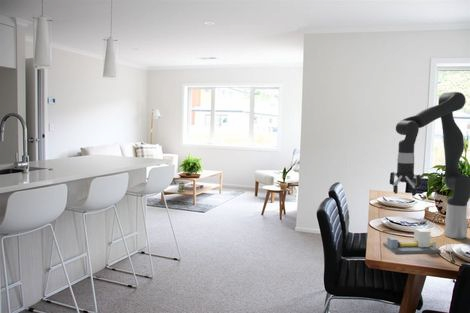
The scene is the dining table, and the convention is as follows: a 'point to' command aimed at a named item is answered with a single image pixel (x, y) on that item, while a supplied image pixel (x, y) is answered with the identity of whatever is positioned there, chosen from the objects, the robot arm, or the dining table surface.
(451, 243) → the dining table surface
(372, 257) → the dining table surface
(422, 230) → the sleeve
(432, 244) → the linear slide rail
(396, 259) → the dining table surface
